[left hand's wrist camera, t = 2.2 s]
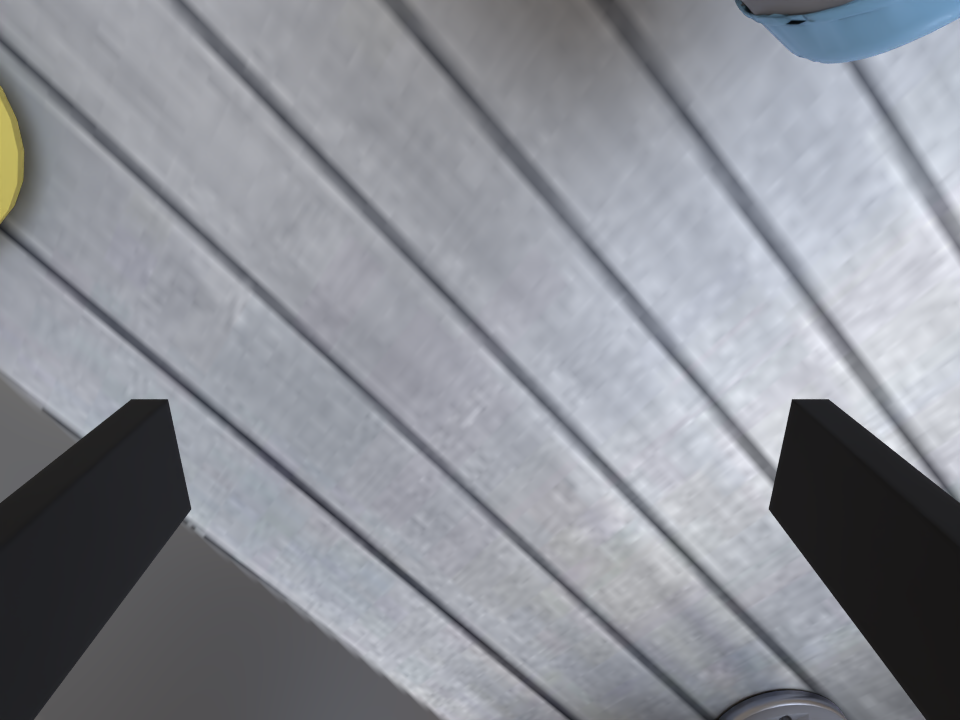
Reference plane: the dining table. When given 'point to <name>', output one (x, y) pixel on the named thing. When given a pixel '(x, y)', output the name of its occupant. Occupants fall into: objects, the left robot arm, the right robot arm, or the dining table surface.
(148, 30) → the dining table surface
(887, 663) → the left robot arm
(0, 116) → the vase
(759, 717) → the right robot arm
